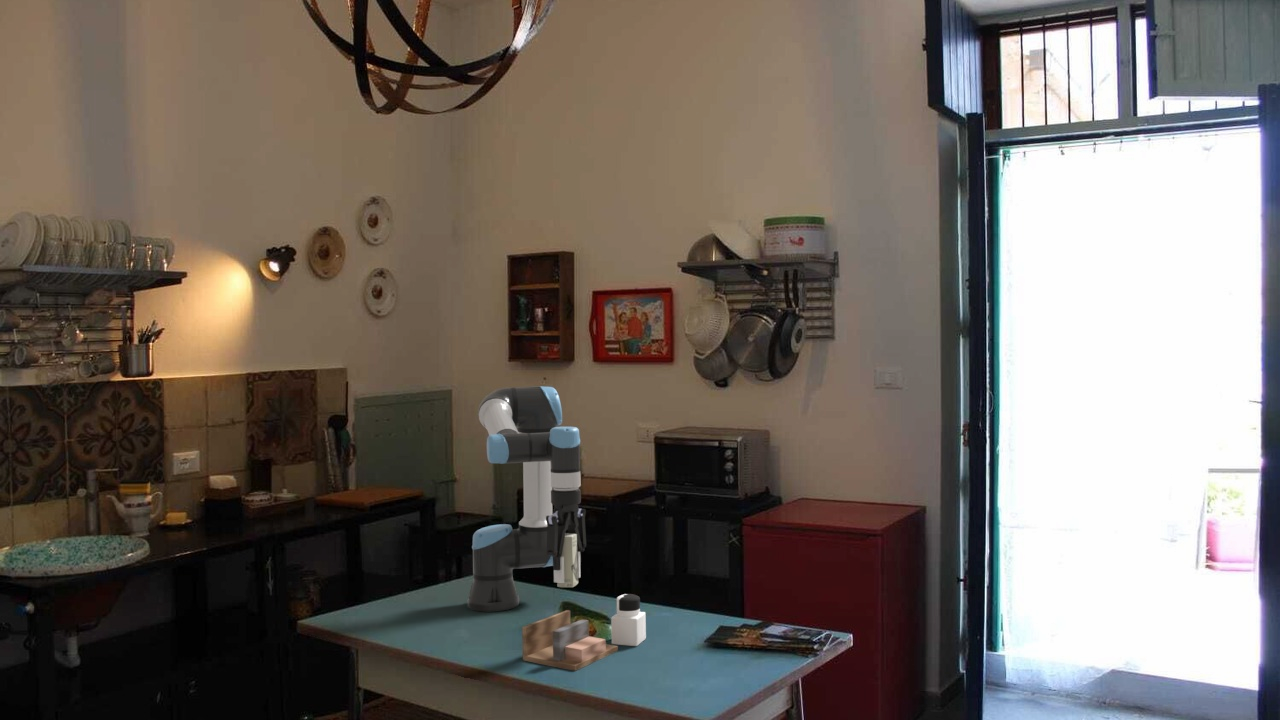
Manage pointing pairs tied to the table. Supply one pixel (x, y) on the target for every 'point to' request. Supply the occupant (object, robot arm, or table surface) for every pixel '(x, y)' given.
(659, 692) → the table surface
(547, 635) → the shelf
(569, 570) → the box
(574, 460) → the robot arm
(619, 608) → the medicine bottle
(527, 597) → the table surface
